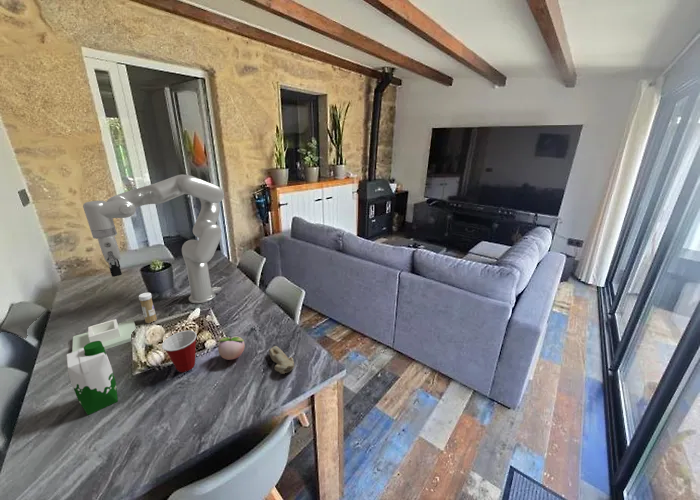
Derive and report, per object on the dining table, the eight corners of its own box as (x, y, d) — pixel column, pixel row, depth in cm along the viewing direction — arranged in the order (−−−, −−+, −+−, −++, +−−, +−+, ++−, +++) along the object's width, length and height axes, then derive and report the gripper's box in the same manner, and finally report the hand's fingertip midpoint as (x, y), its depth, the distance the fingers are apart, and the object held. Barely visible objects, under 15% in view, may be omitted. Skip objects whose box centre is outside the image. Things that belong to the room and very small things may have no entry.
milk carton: (122, 401, 89) (105, 348, 82) (83, 419, 83) (61, 363, 76) (117, 385, 95) (101, 334, 88) (81, 401, 89) (60, 348, 82)
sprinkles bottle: (157, 321, 130) (150, 295, 126) (145, 324, 128) (138, 298, 123) (157, 317, 134) (150, 291, 129) (145, 319, 131) (138, 293, 127)
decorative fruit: (218, 368, 103) (214, 345, 100) (221, 354, 110) (217, 332, 107) (245, 364, 105) (242, 341, 102) (246, 350, 113) (244, 328, 110)
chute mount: (133, 321, 130) (131, 311, 128) (138, 338, 118) (135, 327, 117) (74, 339, 117) (69, 328, 115) (73, 360, 106) (68, 348, 104)
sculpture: (263, 359, 109) (280, 381, 98) (262, 348, 108) (280, 368, 97) (280, 353, 114) (299, 372, 102) (280, 342, 112) (298, 360, 101)
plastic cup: (171, 360, 107) (164, 333, 103) (203, 353, 110) (198, 327, 106) (164, 381, 97) (157, 352, 93) (200, 373, 101) (194, 345, 97)
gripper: (117, 235, 110) (129, 276, 116) (115, 226, 122) (125, 263, 128) (91, 239, 105) (105, 281, 111) (92, 229, 118) (104, 267, 124)
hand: (116, 271), depth 120 cm, fingers open, 9 cm apart
